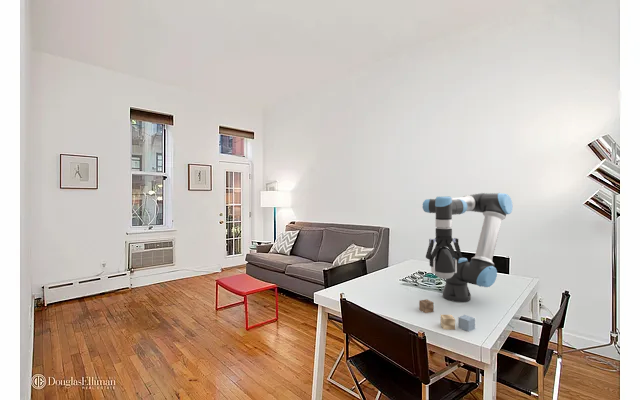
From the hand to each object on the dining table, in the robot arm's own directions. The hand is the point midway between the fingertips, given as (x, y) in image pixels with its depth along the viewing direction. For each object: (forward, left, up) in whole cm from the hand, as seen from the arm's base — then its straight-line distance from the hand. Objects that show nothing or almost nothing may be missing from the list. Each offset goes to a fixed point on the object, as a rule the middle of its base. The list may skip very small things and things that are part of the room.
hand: (444, 272), depth 156 cm
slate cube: (-5, +12, -23) cm, 26 cm away
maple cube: (+3, +10, -23) cm, 25 cm away
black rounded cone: (0, 0, -2) cm, 2 cm away
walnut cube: (+5, -10, -23) cm, 25 cm away
